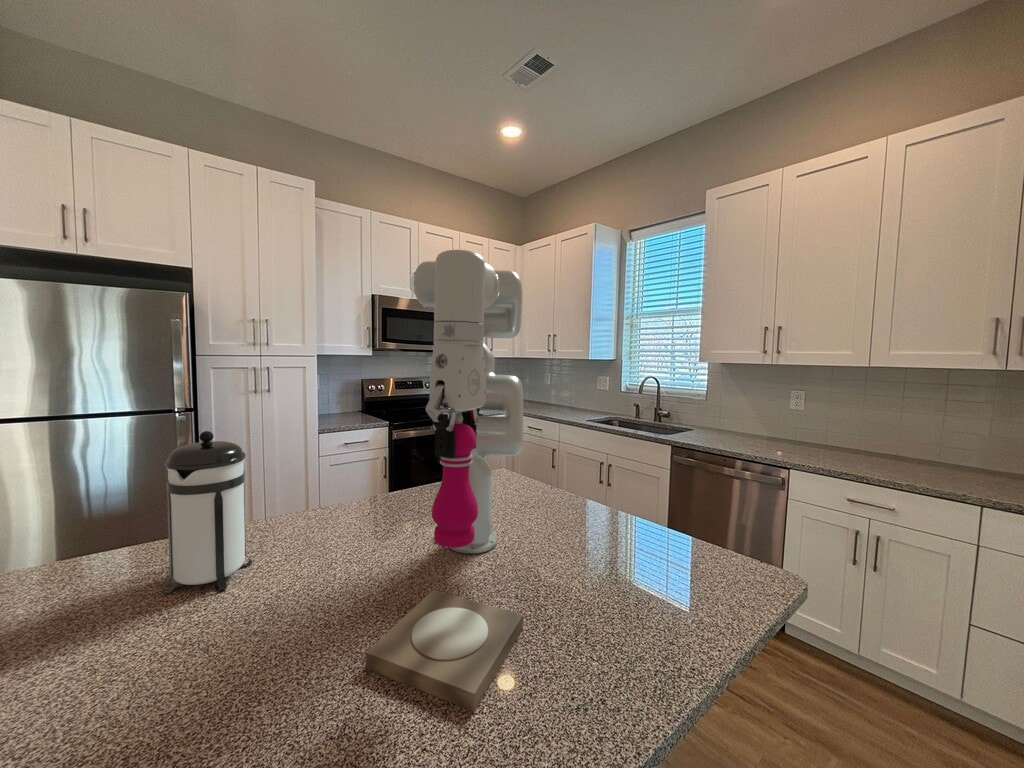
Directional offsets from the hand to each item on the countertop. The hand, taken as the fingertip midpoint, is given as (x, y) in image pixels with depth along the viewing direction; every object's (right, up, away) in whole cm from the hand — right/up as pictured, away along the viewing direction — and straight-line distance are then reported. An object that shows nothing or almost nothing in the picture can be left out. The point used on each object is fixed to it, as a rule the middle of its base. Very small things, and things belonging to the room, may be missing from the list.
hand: (456, 451), depth 64 cm
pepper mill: (0, -14, +1) cm, 14 cm away
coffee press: (-53, -29, +21) cm, 64 cm away
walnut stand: (-1, -32, +2) cm, 32 cm away
